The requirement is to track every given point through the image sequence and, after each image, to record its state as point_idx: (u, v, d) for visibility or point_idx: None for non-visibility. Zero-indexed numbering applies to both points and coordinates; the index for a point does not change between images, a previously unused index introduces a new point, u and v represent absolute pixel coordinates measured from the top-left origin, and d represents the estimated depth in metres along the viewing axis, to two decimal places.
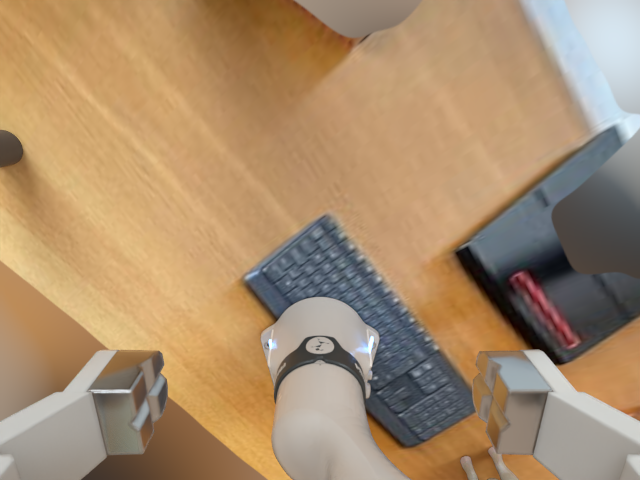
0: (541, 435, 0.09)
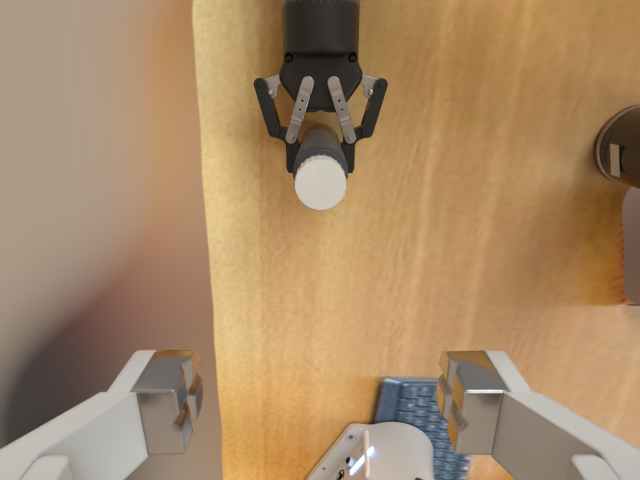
0: (499, 435, 0.09)
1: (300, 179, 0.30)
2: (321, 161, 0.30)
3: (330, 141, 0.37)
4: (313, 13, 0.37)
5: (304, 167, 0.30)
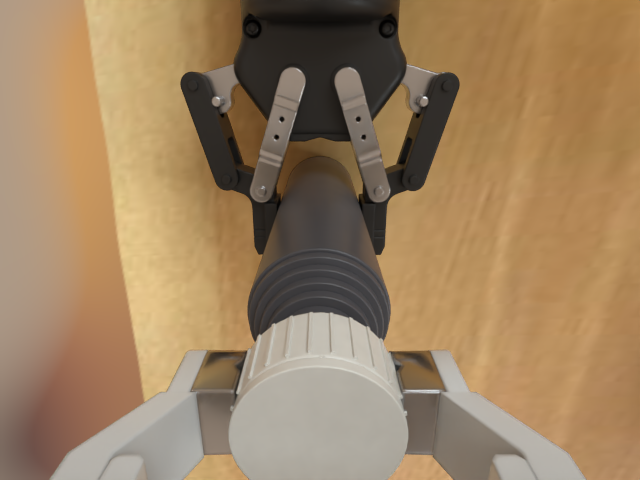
0: (439, 435, 0.09)
1: (247, 424, 0.08)
2: (321, 371, 0.08)
3: (343, 222, 0.15)
4: None
5: (259, 389, 0.08)
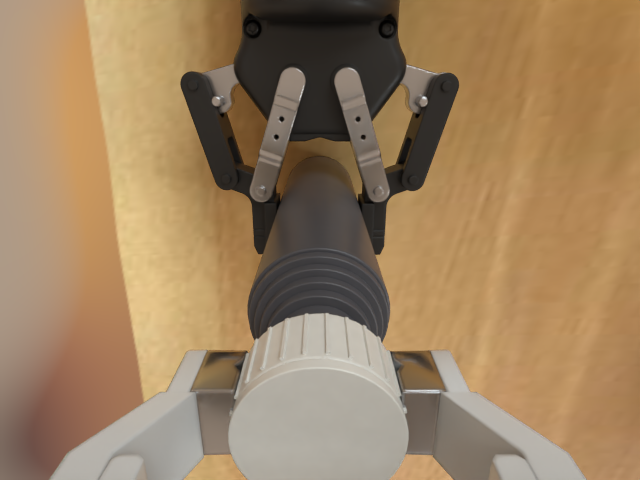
0: (440, 435, 0.09)
1: None
2: (235, 423, 0.08)
3: (342, 222, 0.16)
4: None
5: (244, 470, 0.09)
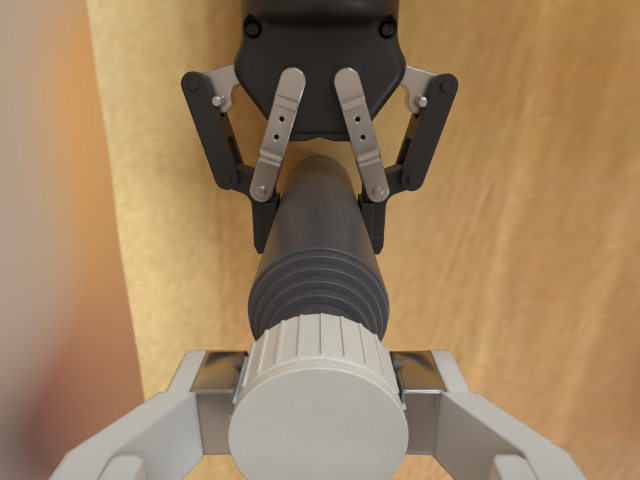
0: (440, 435, 0.09)
1: None
2: None
3: (342, 221, 0.16)
4: None
5: None
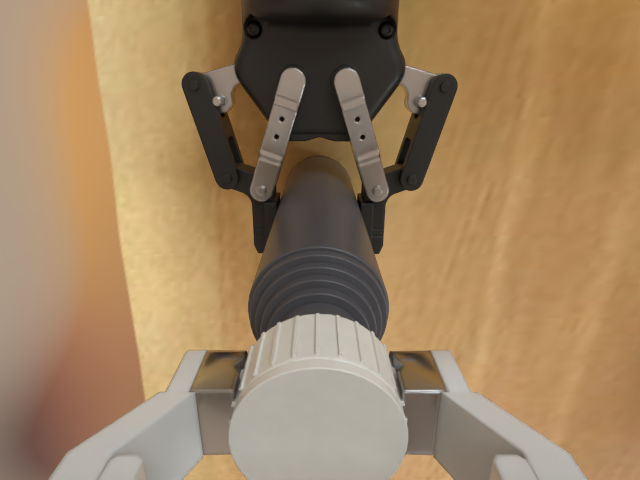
0: (440, 435, 0.09)
1: (384, 415, 0.08)
2: None
3: (342, 221, 0.16)
4: None
5: (402, 446, 0.09)
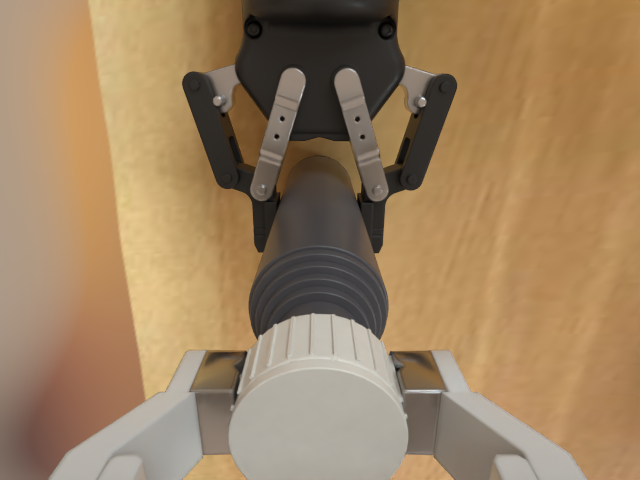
0: (440, 435, 0.09)
1: (299, 385, 0.08)
2: (395, 410, 0.08)
3: (342, 220, 0.16)
4: None
5: (346, 376, 0.08)
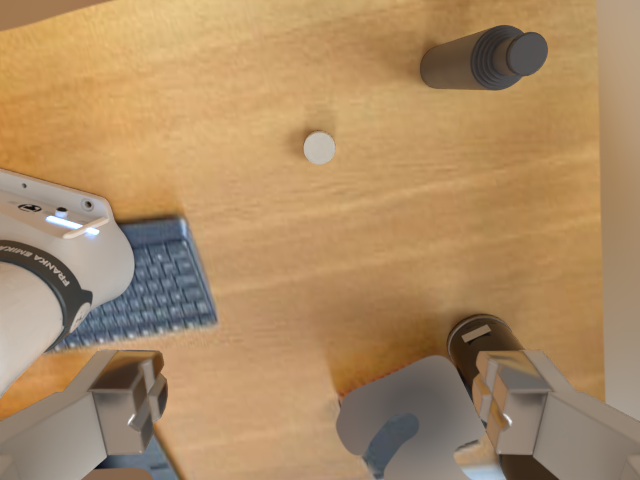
0: (541, 435, 0.09)
1: (306, 148, 0.49)
2: (315, 133, 0.49)
3: None
4: None
5: (306, 140, 0.49)
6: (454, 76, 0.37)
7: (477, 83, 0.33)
